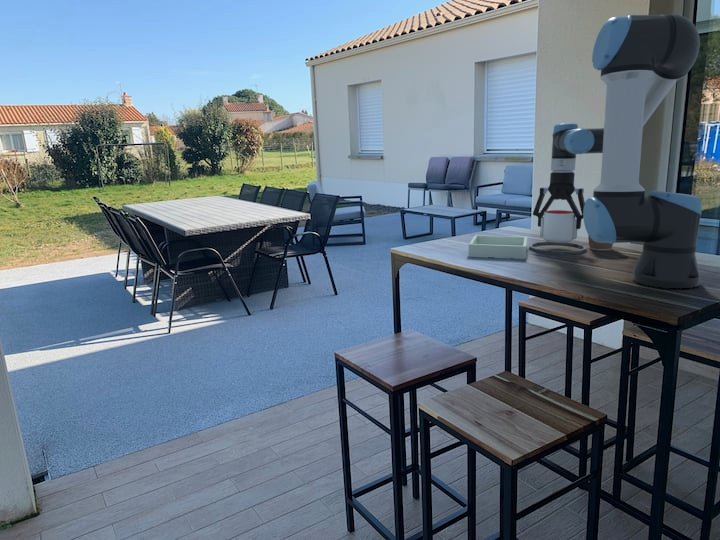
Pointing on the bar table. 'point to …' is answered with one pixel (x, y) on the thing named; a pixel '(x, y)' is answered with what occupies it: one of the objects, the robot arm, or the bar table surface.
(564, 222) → the cup
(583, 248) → the socket ring
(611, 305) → the bar table surface
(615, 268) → the bar table surface
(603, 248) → the coffee cup
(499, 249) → the bin
